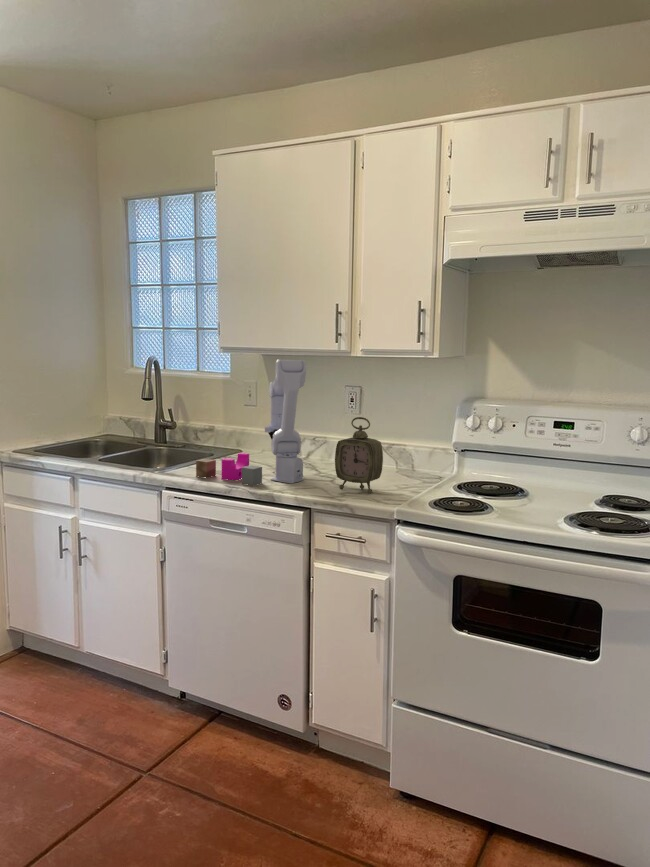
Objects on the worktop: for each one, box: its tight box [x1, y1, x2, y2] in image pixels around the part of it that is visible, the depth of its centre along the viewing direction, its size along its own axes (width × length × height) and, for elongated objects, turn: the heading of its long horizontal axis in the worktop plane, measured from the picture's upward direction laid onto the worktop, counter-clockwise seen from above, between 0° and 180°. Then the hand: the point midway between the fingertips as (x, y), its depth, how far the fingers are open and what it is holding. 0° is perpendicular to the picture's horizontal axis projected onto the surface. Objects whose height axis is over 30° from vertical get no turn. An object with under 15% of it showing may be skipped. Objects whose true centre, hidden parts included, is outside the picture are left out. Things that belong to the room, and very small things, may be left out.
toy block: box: [221, 452, 250, 481], centre depth 243 cm, size 15×6×8 cm, turn 161°
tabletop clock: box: [334, 416, 384, 494], centre depth 224 cm, size 14×9×25 cm, turn 59°
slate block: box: [241, 464, 263, 486], centre depth 231 cm, size 5×5×6 cm
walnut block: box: [195, 458, 217, 479], centre depth 242 cm, size 5×5×6 cm
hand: (277, 449), depth 254 cm, fingers closed
